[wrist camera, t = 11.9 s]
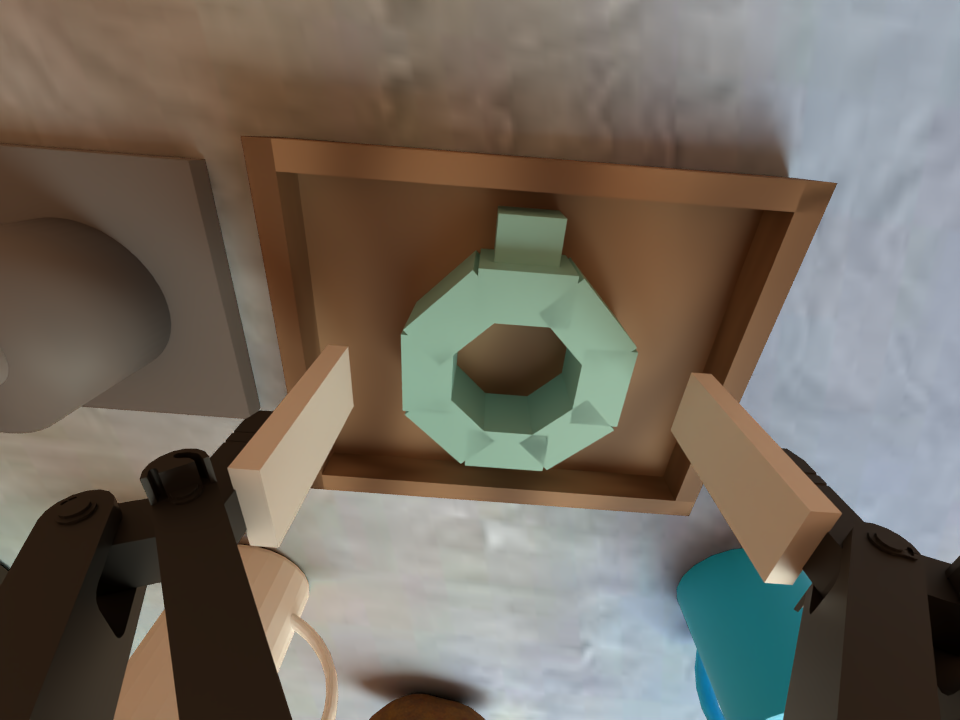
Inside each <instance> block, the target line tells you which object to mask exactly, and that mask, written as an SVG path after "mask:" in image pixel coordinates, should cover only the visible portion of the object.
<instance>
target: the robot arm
mask: <svg viewBox="0 0 960 720" xmlns="http://www.w3.org/2000/svg"><path fill="white" fill-rule="evenodd" d="M353 407H354V404H353V394H352V383H351V372H350V361H349V350H348V346H335V345H328V346H327V347H326V348H325V349H324V350H323V352H322V353H321V354H320V355H319V357H318V358H317V359H316V360H315V361H314V363H313V364H312V365H311V366H310V368H309V369H308V370H307V371H306V372H305V374H304V375H303V376H302V377H301V379H300V380H299V381H298V382H297V383H296V385H295V386H294V387H293V388H292V390H291V391H290V392H289V393H288V394H287V396H286V397H285V398H284V399H283V401H282V402H281V403H280V404H279V405H278V407H277V408H276V409H275V410H274V411H261V410H260V411H258V412H256V413H255V414H253V415H251V416H250V417H248V418H246V419H245V420H244V421H243V422H242V423H241V424H240V425H239V426H238V427H237V428H236V430H235V431H234V433H232V434H231V435H230V436H229V437H228V438H227V440H226V442H225V443H223V444H222V445H221V446H220V447H219V448H218V450H217V451H216V452H215V453H214V454H213V455H212V456H211V457H210V458H209V456H208V455H207V453H206V452H205V451H202V450H199V449H182V450H177V451H173V452H170V453H168V454H165V455H163V456H160V457H159V458H157V459H156V460H154V461H152V462H151V463H149V464H148V465H147V467H146V468H145V469H144V470H143V471H142V473H141V477H140V481H141V483H142V485H143V488H144V490H145V492H146V494H147V497H148V499H143V500H137V501H130V502H124V503H117V501H116V499H115V497H114V495H113V494H112V493H110V492H109V491H105V490H90V491H85V492H81V493H78V494H75V495H72V496H70V497H68V498H65V499H63V500H61V501H59V502H57V503H56V504H55V505H53V506H52V507H50V508H49V509H48V510H46V511H45V512H44V513H43V514H42V516H41V517H40V518H39V519H38V520H37V522H36V524H35V526H34V527H33V529H32V531H31V533H30V534H29V536H28V538H27V540H26V541H25V543H24V545H23V547H22V548H21V550H20V552H19V554H18V556H17V557H16V559H15V561H14V563H13V564H12V566H11V568H10V570H9V571H7V570H6V569H5V568H4V567H2V566H1V565H0V720H113V719H114V715H115V711H116V707H117V703H118V699H119V695H120V691H121V687H122V683H123V679H124V675H125V671H126V667H127V663H128V659H129V655H130V651H131V647H132V643H133V639H134V635H135V631H136V627H137V623H138V619H139V615H140V611H141V607H142V603H143V599H144V595H145V592H146V588H147V585H150V584H155V583H159V582H161V584H162V591H163V599H164V607H165V615H166V623H167V630H168V638H169V646H170V654H171V661H172V669H173V677H174V685H175V692H176V700H177V708H178V716H179V720H292V717H291V714H290V711H289V708H288V705H287V701H286V698H285V695H284V692H283V689H282V685H281V682H280V679H279V676H278V673H277V670H276V666H275V663H274V660H273V657H272V654H271V651H270V647H269V644H268V641H267V638H266V635H265V632H264V628H263V625H262V622H261V619H260V616H259V612H258V609H257V606H256V603H255V600H254V597H253V593H252V590H251V587H250V584H249V581H248V578H247V574H246V571H245V568H244V565H243V562H242V558H241V555H240V552H239V549H238V546H237V544H238V543H239V541H240V540H241V538H242V537H243V535H244V533H245V532H246V533H247V537H248V540H249V543H250V546H262V547H276V548H279V546H280V544H281V543H282V541H283V539H284V537H285V535H286V533H287V531H288V529H289V527H290V526H291V524H292V522H293V520H294V518H295V516H296V514H297V512H298V510H299V509H300V507H301V505H302V503H303V501H304V499H305V497H306V495H307V493H308V492H309V490H310V488H311V486H312V484H313V482H314V480H315V478H316V477H317V475H318V473H319V471H320V469H321V467H322V465H323V463H324V461H325V460H326V458H327V456H328V454H329V452H330V450H331V448H332V446H333V444H334V443H335V441H336V439H337V437H338V435H339V433H340V431H341V429H342V427H343V426H344V424H345V422H346V420H347V418H348V416H349V414H350V412H351V410H352V409H353ZM671 432H672V433H673V435H674V437H675V438H676V440H677V441H678V443H679V445H680V446H681V448H682V450H683V451H684V453H685V454H686V456H687V458H688V459H689V461H690V463H691V464H692V466H693V468H694V469H695V471H696V472H697V474H698V476H699V477H700V479H701V481H702V482H703V484H704V485H705V487H706V489H707V490H708V492H709V494H710V495H711V497H712V498H713V500H714V502H715V503H716V505H717V507H718V508H719V510H720V511H721V513H722V515H723V516H724V518H725V520H726V521H727V523H728V525H729V526H730V528H731V529H732V531H733V533H734V534H735V536H736V538H737V539H738V541H739V542H740V544H741V546H742V547H743V549H744V551H745V552H746V554H747V555H748V557H749V559H750V560H751V562H752V564H753V565H754V567H755V569H756V570H757V572H758V573H759V575H760V577H761V578H762V580H763V582H764V583H773V584H787V585H793V583H794V582H795V580H796V579H797V578H798V576H799V575H800V573H801V572H802V570H803V571H804V572H805V574H806V575H807V576H808V578H809V579H810V580H811V582H812V584H811V585H810V587H809V588H808V590H807V591H806V592H805V594H804V595H803V596H802V598H801V599H800V600H799V602H798V603H797V605H796V606H795V608H794V610H795V611H797V612H799V611H800V609H801V608H803V612H802V617H801V623H800V628H799V634H798V639H797V645H796V650H795V656H794V661H793V667H792V672H791V678H790V683H789V689H788V694H787V700H786V705H785V711H784V716H783V720H960V556H959V557H958V558H957V559H956V560H955V561H954V562H953V563H952V564H950V563H946V562H943V561H940V560H936V559H933V558H930V557H926V556H923V555H921V554H920V553H919V552H918V551H917V550H916V548H915V547H914V546H913V545H912V544H911V543H909V542H908V541H907V540H905V539H904V538H903V537H901V536H900V535H898V534H896V533H894V532H893V531H891V530H889V529H887V528H884V527H882V526H879V525H876V524H873V523H866V522H864V521H863V520H862V519H861V518H860V517H859V516H858V515H857V514H856V513H855V512H854V511H853V510H852V509H851V508H850V507H849V506H848V505H847V504H846V503H845V502H844V501H843V500H842V499H841V498H840V497H839V496H838V495H837V494H836V493H835V492H834V491H833V490H832V489H831V488H830V487H829V486H827V485H826V484H827V483H826V482H825V481H824V480H823V479H822V478H821V477H820V476H817V475H816V472H815V471H814V470H813V469H812V468H811V467H810V466H809V465H808V464H807V463H806V462H805V461H804V460H803V459H801V458H800V457H798V456H797V455H795V454H794V453H792V452H791V451H789V450H788V449H783V448H780V447H779V446H778V444H777V443H776V442H775V441H774V440H773V439H772V438H771V437H770V436H769V435H768V434H767V433H766V432H765V431H764V430H763V428H762V427H761V426H760V425H759V424H758V423H757V422H756V421H755V420H754V419H753V418H752V417H751V416H750V415H749V414H748V412H747V411H746V410H745V409H744V408H743V407H742V406H741V405H740V404H739V403H738V402H737V401H736V400H735V399H734V398H733V397H732V395H731V394H730V393H729V392H728V391H727V390H726V389H725V388H724V387H723V386H722V385H721V384H720V383H719V382H718V381H717V379H716V378H715V377H714V376H713V375H712V374H705V373H691V375H690V378H689V381H688V383H687V386H686V389H685V392H684V394H683V397H682V400H681V403H680V405H679V408H678V411H677V414H676V416H675V419H674V422H673V425H672V427H671Z"/></svg>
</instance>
